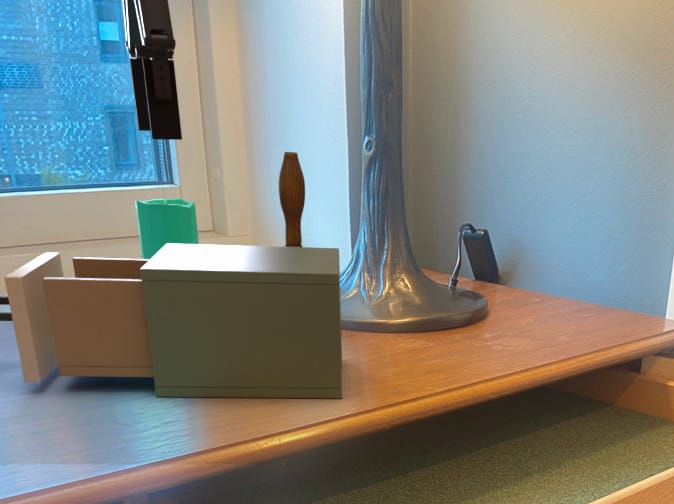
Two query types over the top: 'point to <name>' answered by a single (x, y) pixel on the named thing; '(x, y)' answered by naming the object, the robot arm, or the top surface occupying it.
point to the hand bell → (292, 198)
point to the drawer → (79, 317)
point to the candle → (165, 224)
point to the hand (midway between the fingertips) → (159, 135)
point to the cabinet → (244, 321)
